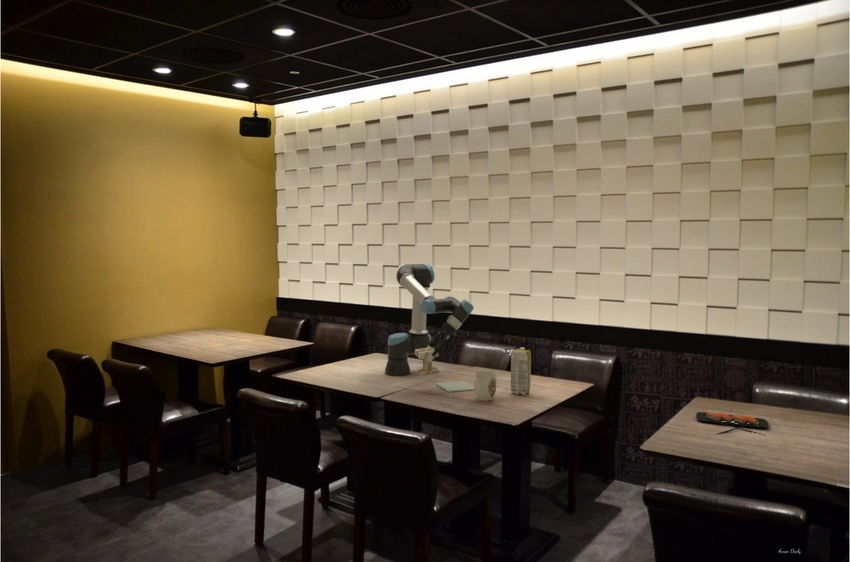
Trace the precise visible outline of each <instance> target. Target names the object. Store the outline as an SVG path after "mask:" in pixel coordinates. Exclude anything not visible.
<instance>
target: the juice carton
mask: <svg viewBox="0 0 850 562" xmlns="http://www.w3.org/2000/svg"><path fill="white" fill-rule="evenodd" d="M531 354H532V352H531V349H526V348H525V347H519V348H516V349H515V348H514V349H512V350H511V357H510V393H511V394H513V393H515V394H514V395H519V394H522V395H521V396H526V395H528V394H529V393H530V390H531V375H532V372H531V371H532V355H531ZM527 393H528V394H527ZM525 394H526V395H525Z"/></svg>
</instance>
